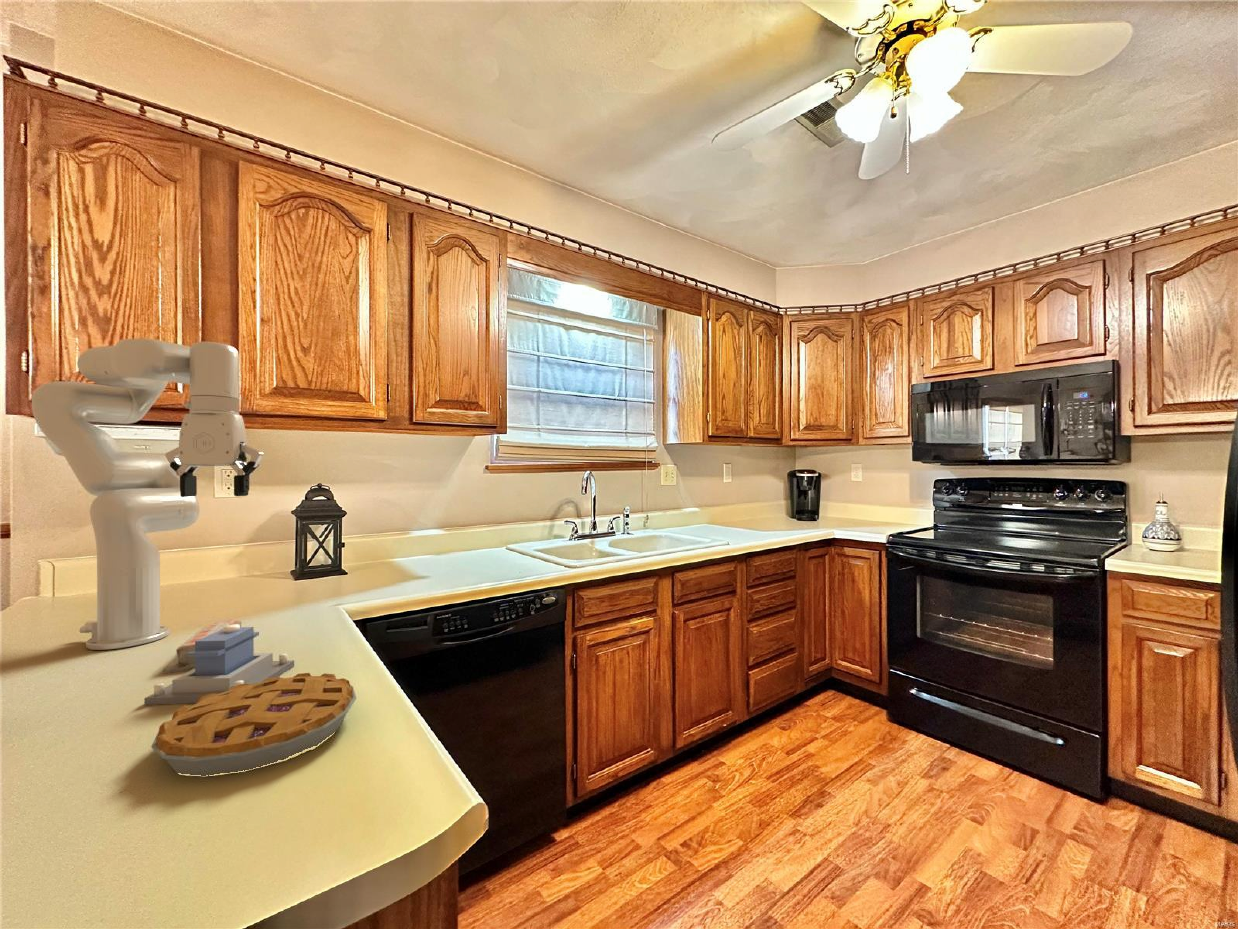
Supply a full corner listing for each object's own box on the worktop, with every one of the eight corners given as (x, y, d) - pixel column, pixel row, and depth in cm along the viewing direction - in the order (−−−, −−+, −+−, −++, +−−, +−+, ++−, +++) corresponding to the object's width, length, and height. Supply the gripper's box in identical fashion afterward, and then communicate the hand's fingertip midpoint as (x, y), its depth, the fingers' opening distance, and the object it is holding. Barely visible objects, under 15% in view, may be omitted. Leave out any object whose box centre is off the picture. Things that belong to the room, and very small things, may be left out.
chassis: (144, 705, 77) (144, 684, 77) (212, 668, 91) (212, 651, 91) (241, 701, 78) (241, 681, 78) (294, 666, 92) (294, 649, 92)
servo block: (187, 691, 79) (187, 639, 79) (232, 666, 89) (232, 620, 89) (218, 690, 79) (218, 638, 79) (259, 665, 89) (259, 619, 89)
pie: (113, 809, 53) (113, 760, 53) (191, 716, 73) (191, 681, 73) (349, 759, 62) (349, 718, 62) (361, 689, 82) (361, 658, 82)
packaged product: (232, 639, 93) (162, 648, 89) (232, 666, 93) (162, 676, 89) (255, 614, 109) (196, 621, 105) (255, 637, 109) (196, 644, 105)
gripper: (151, 405, 95) (151, 498, 94) (248, 405, 96) (249, 496, 95) (183, 410, 102) (183, 496, 102) (273, 410, 103) (273, 494, 103)
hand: (215, 496), depth 99 cm, fingers open, 9 cm apart
